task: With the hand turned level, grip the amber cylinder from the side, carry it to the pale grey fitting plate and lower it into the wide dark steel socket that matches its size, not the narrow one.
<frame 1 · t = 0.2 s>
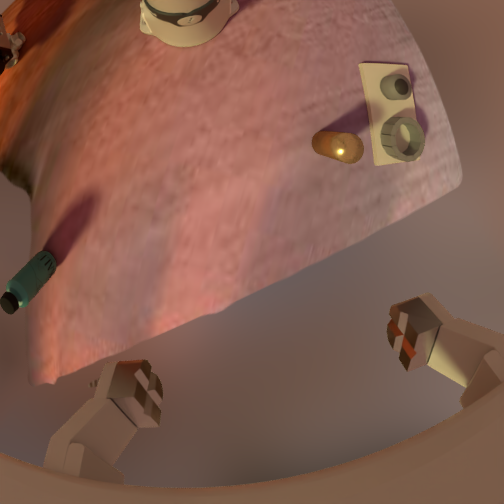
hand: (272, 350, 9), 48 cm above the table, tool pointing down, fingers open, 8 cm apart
amber cylinder: (323, 143, 52), on the table
beverage bottle: (49, 259, 55), on the table
fitting plate: (390, 112, 50), on the table
ball valve: (15, 50, 32), on the table
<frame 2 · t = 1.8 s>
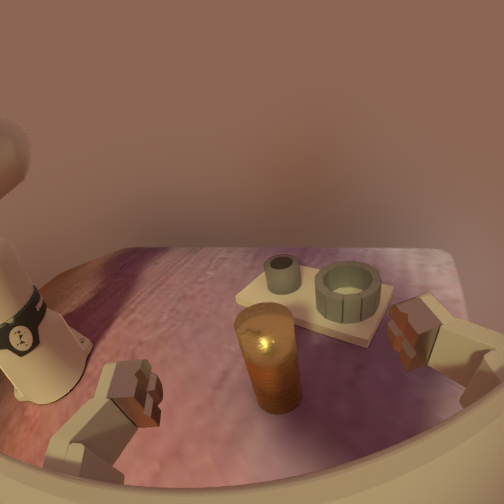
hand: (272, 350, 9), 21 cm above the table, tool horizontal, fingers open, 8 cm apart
amber cylinder: (279, 396, 29), on the table
fitting plate: (315, 300, 43), on the table
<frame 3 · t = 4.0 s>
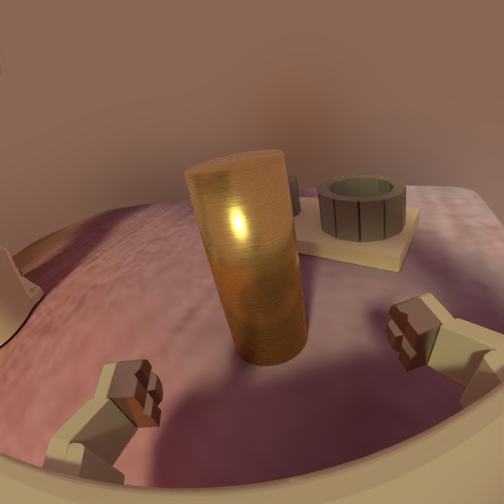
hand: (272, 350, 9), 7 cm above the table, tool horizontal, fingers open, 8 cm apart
amber cylinder: (271, 338, 19), on the table
fitting plate: (319, 228, 33), on the table
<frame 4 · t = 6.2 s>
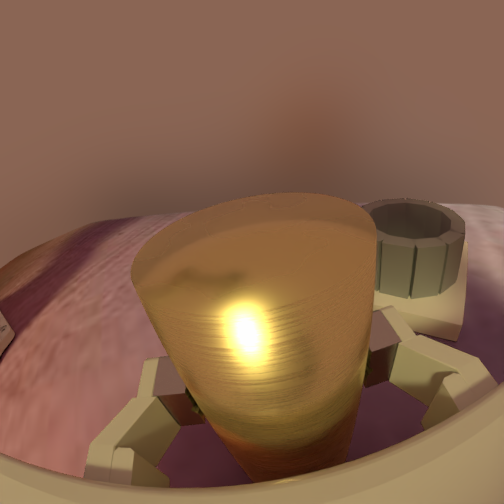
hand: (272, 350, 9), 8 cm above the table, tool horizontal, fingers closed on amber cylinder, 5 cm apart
amber cylinder: (295, 456, 11), on the table, touching gripper
fitting plate: (348, 266, 25), on the table
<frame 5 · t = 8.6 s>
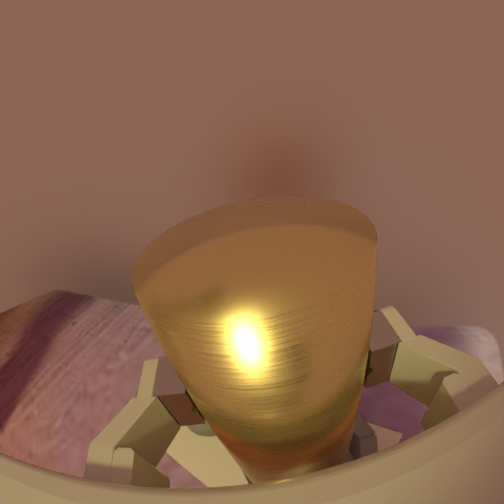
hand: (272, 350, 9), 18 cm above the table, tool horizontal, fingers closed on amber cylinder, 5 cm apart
amber cylinder: (295, 457, 11), point 11 cm above the table, touching gripper
fitting plate: (259, 446, 21), on the table
when the fingers open (10 cm above the table, at t = 11.1 s): amber cylinder stays where it is, resting on fitting plate.
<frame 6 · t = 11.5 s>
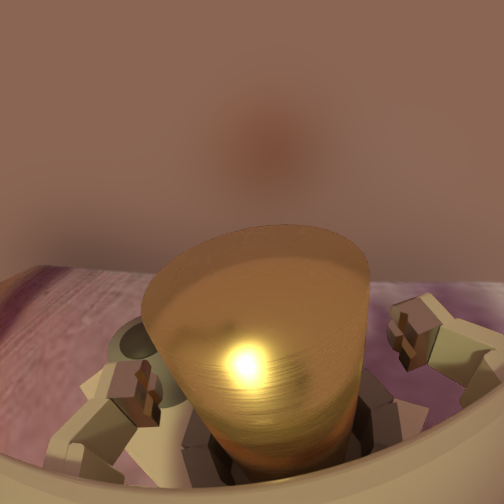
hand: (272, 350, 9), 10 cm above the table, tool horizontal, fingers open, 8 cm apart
amber cylinder: (295, 462, 12), point 2 cm above the table, touching fitting plate
fitting plate: (226, 427, 16), on the table
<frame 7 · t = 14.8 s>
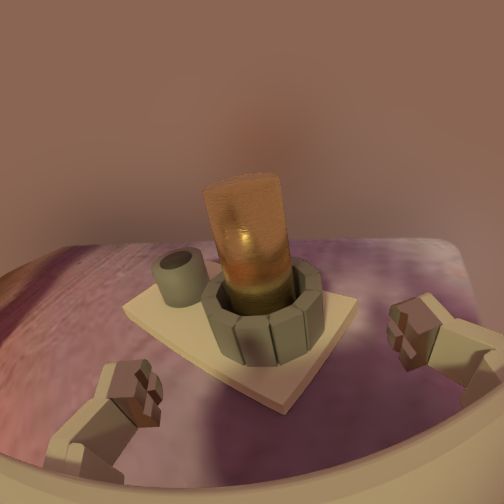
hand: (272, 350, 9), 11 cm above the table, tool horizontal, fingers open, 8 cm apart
amber cylinder: (268, 324, 24), point 2 cm above the table, touching fitting plate
fitting plate: (226, 318, 28), on the table
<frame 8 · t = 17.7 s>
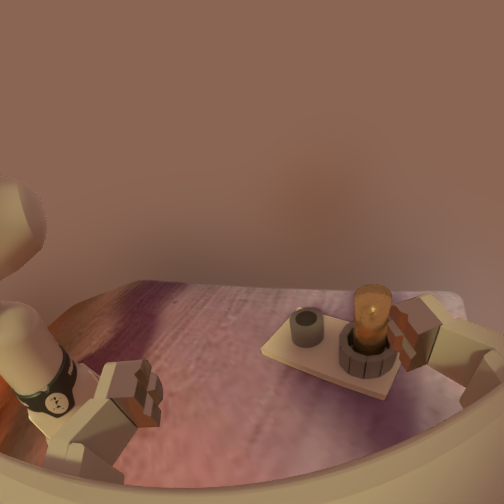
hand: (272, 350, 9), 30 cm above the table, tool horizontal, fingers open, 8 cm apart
amber cylinder: (367, 355, 40), point 2 cm above the table, touching fitting plate
fitting plate: (336, 351, 44), on the table
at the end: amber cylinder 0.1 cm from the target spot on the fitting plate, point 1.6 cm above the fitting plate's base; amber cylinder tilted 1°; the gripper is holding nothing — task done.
